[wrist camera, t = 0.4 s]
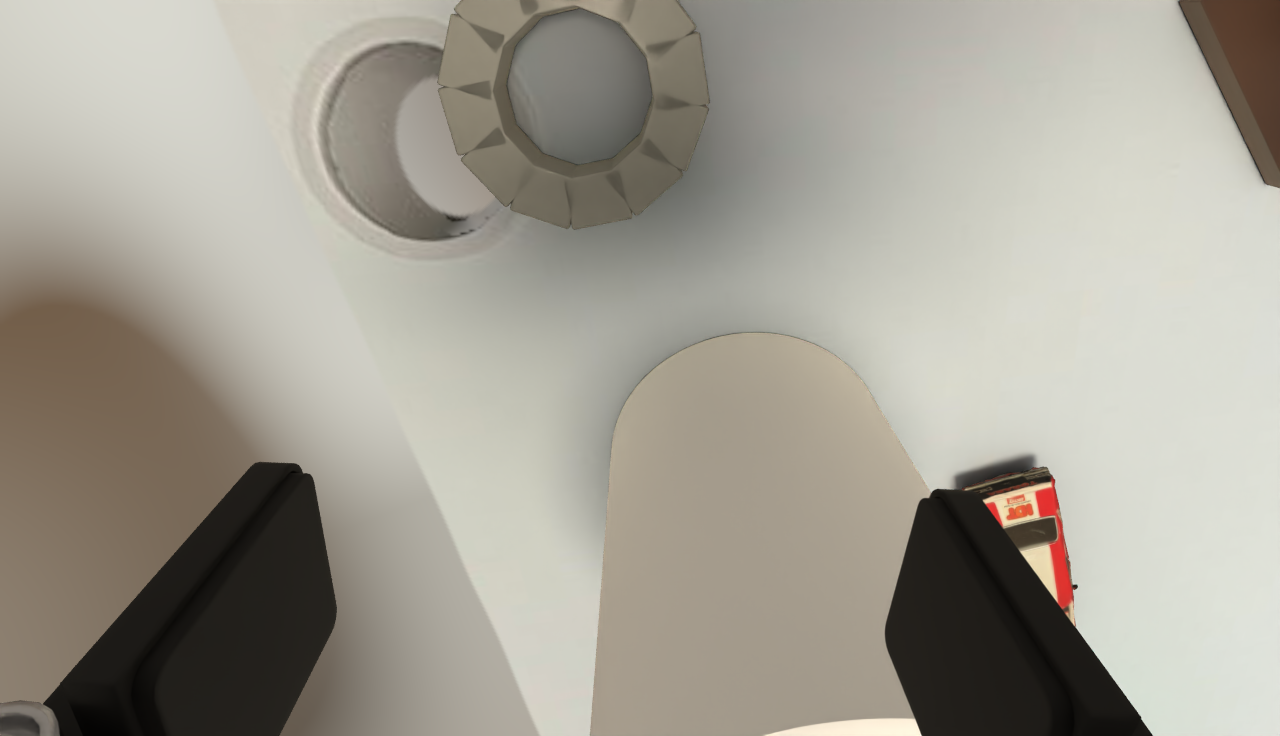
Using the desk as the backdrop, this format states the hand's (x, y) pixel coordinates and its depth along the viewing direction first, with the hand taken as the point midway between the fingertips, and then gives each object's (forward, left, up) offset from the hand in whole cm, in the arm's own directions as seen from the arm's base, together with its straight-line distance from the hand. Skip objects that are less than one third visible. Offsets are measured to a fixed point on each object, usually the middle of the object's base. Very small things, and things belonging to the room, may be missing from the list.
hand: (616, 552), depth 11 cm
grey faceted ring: (-2, -5, -21) cm, 22 cm away
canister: (+4, +13, -21) cm, 25 cm away
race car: (-3, +27, -21) cm, 34 cm away
